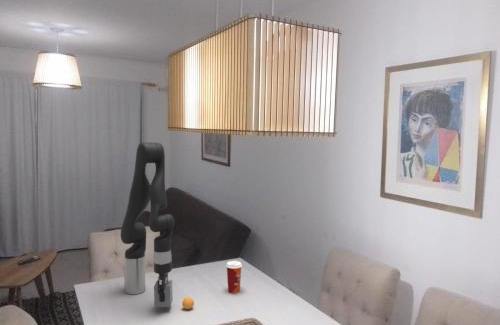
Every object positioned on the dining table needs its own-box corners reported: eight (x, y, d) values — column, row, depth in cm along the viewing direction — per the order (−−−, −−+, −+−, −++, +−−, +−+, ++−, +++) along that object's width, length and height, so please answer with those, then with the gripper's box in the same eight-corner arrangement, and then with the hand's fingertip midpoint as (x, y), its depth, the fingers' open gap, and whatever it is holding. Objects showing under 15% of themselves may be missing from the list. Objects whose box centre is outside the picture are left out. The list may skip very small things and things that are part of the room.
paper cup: (239, 295, 187) (240, 266, 186) (224, 293, 188) (224, 265, 187) (243, 288, 194) (243, 260, 193) (228, 287, 196) (228, 259, 195)
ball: (179, 309, 172) (179, 298, 171) (188, 305, 176) (188, 294, 175) (188, 312, 169) (188, 301, 168) (196, 308, 173) (196, 297, 172)
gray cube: (154, 306, 167) (153, 286, 167) (157, 300, 174) (156, 280, 174) (170, 306, 168) (170, 286, 167) (172, 299, 175) (172, 280, 174)
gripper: (156, 255, 177) (157, 291, 178) (150, 266, 162) (151, 305, 163) (173, 255, 177) (174, 291, 178) (169, 265, 163) (170, 304, 164)
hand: (163, 297), depth 171 cm, fingers closed on gray cube, 7 cm apart
